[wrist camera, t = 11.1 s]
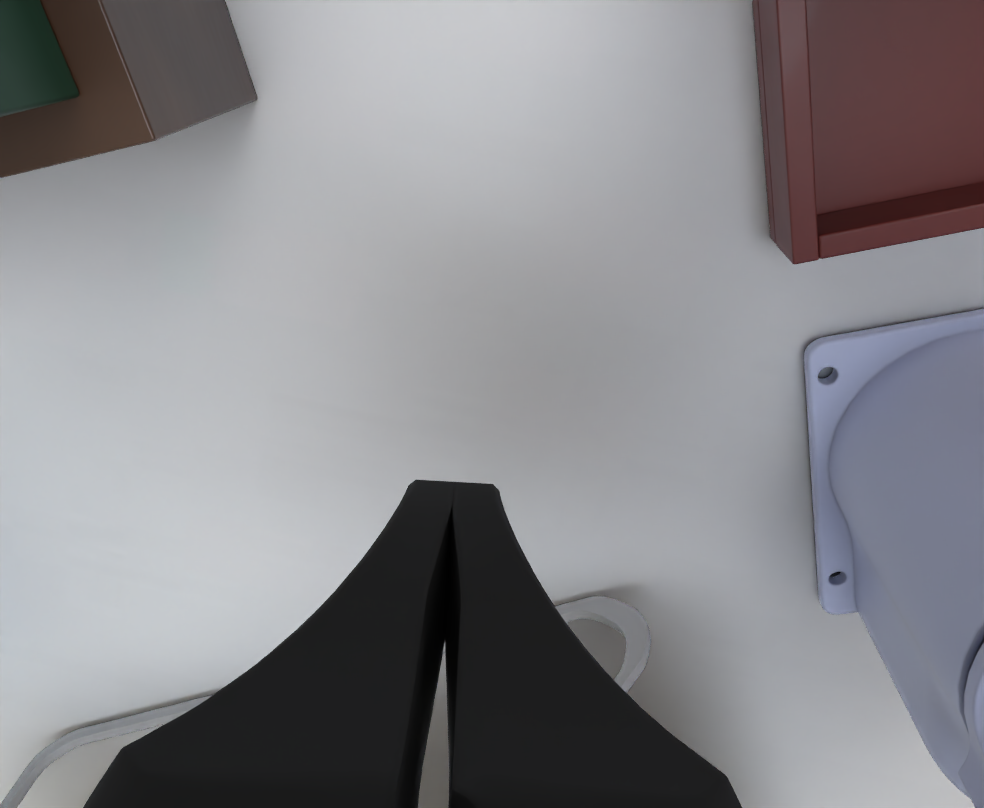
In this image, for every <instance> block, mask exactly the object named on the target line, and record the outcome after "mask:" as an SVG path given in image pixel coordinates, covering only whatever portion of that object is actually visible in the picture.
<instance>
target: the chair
mask: <svg viewBox="0 0 984 808" xmlns="http://www.w3.org/2000/svg"><path fill="white" fill-rule="evenodd" d="M555 608H556V609H557V610H558V612H559V613H560V615H561V616H562V618H563V619H564V621H565V622H569V621H573V620H577V619H592V620H595V621H598V622H601V623H604V624H606V625H608V626H610V627H612V628H614V629H616V630H617V631H619V632H620V633H621V634H622V635H623V636H624V637H625V639H626V652H625V657H624V661H623V664H622V667H621V670H620V672H619V673H618V675H617V676H616V677H615V679H614V681H615V682H616V683H617V684H618V685H619V686H620V687H621V688H622V689H623V690H624V691H625V692H626V693H627V692H628V690H629V689H630V688H631V686H632V685H633V684H634V682H635V681H636V680H637V678H638V677H639V676H640V674H641V673H642V671H643V670H644V669H645V666H646V664H647V660H648V657H649V652H650V645H651V637H650V630H649V626H648V624H647V621H646V619H645V618H644V617H643V616H642V615H641V614H640V612H639V611H638V610H637V609H635V608H633V607H632V606H630V605H628V604H626V603H624V602H622V601H620V600H616V599H613V598H609V597H606V596H592V597H588V598H584V599H581V600H577V601H573V602H569V603H565V604H562V605H558V606H555ZM445 653H446V652H445V643H444V649H443V654H445ZM211 696H212V695H210V696H206V697H202V698H198V699H194V700H191V701H187V702H183V703H179V704H175V705H171V706H167V707H163V708H159V709H156V710H152V711H148V712H144V713H140V714H136V715H132V716H128V717H124V718H120V719H117V720H113V721H109V722H105V723H101V724H97V725H93V726H89V727H85V728H81V729H78V730H75V731H72V732H70V733H68V734H66V735H64V736H62V737H61V738H59V739H58V740H56V741H55V742H53V743H52V744H50V745H49V746H47V747H46V748H44V749H43V750H42V751H41V752H40V753H38V754H37V755H36V756H35V757H34V759H33V760H32V761H31V762H30V763H29V765H28V766H27V767H26V768H25V770H24V771H23V773H22V774H21V776H20V777H19V779H18V780H17V782H16V783H15V784H14V786H13V787H12V789H11V790H10V792H9V793H8V794H7V796H6V797H5V799H4V800H3V801H2V803H1V804H0V808H17V807H18V806H19V804H20V803H21V801H22V800H23V798H24V797H25V795H26V794H27V792H28V791H29V789H30V788H31V786H32V785H33V783H34V782H35V780H36V779H37V778H38V777H39V775H40V774H41V773H42V772H43V770H44V769H45V768H47V767H48V766H49V765H50V764H51V763H53V762H54V761H55V760H57V759H58V758H60V757H61V756H63V755H64V754H66V753H67V752H69V751H71V750H72V749H74V748H76V747H78V746H81V745H84V744H87V743H91V742H95V741H100V740H104V739H108V738H112V737H116V736H120V735H124V734H128V733H132V732H136V731H140V730H144V729H148V728H152V727H156V726H159V725H163V724H167V723H168V722H170V721H172V720H174V719H175V718H177V717H179V716H181V715H183V714H184V713H186V712H188V711H189V710H191V709H193V708H194V707H196V706H197V705H199V704H201V703H202V702H204V701H205V700H207V699H208V698H210V697H211Z"/></svg>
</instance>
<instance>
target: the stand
mask: <svg viewBox="0 0 984 808" xmlns="http://www.w3.org/2000/svg"><path fill="white" fill-rule="evenodd" d="M40 2H41V4H42V7H43V9H44V12H45V14H46V16H47V19H48V21H49V23H50V26H51V28H52V30H53V33H54V35H55V37H56V40H57V42H58V45H59V47H60V49H61V52H62V54H63V56H64V59H65V61H66V63H67V66H68V68H69V70H70V73H71V75H72V77H73V80H74V82H75V85H76V87H77V89H78V92H79V96H78V97H77V98H73V99H69V100H65V101H62V102H58V103H54V104H50V105H46V106H42V107H38V108H34V109H30V110H26V111H22V112H18V113H14V114H10V115H7V116H3V117H0V178H3V177H7V176H11V175H15V174H20V173H24V172H28V171H32V170H36V169H40V168H44V167H49V166H53V165H57V164H61V163H65V162H69V161H73V160H78V159H82V158H86V157H90V156H94V155H98V154H102V153H106V152H111V151H115V150H119V149H123V148H127V147H131V146H135V145H140V144H144V143H148V142H152V141H155V140H158V139H160V138H163V137H165V136H168V135H170V134H173V133H175V132H178V131H181V130H183V129H186V128H188V127H191V126H193V125H196V124H198V123H201V122H203V121H206V120H208V119H211V118H213V117H216V116H218V115H221V114H223V113H226V112H228V111H231V110H233V109H236V108H238V107H241V106H243V105H246V104H248V103H251V102H253V101H256V100H257V96H256V93H255V90H254V87H253V84H252V81H251V78H250V75H249V72H248V69H247V66H246V63H245V60H244V57H243V54H242V51H241V48H240V45H239V42H238V39H237V36H236V33H235V30H234V27H233V24H232V21H231V18H230V15H229V12H228V9H227V6H226V3H225V0H40Z"/></svg>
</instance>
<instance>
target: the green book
mask: <svg viewBox="0 0 984 808" xmlns="http://www.w3.org/2000/svg"><path fill="white" fill-rule="evenodd" d="M78 96H79V92H78V89H77V87H76V85H75V82H74V80H73V77H72V75H71V73H70V70H69V68H68V66H67V63H66V61H65V59H64V56H63V54H62V52H61V49H60V47H59V45H58V42H57V40H56V37H55V35H54V33H53V30H52V28H51V26H50V23H49V21H48V19H47V16H46V14H45V12H44V9H43V7H42V4H41V2H40V0H0V117H3V116H7V115H10V114H14V113H18V112H22V111H26V110H30V109H34V108H38V107H42V106H46V105H50V104H54V103H58V102H62V101H65V100H69V99H73V98H77V97H78Z"/></svg>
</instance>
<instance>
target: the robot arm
mask: <svg viewBox="0 0 984 808" xmlns="http://www.w3.org/2000/svg"><path fill="white" fill-rule="evenodd" d="M804 366H805V383H806V399H807V415H808V432H809V448H810V464H811V481H812V497H813V513H814V530H815V546H816V562H817V578H818V595H819V600H820V603H821V605H822V608H823V609H824V610H825V611H826V612H827V613H830V614H846V613H854V612H859V614H860V616H861V618H862V620H863V622H864V624H865V626H866V628H867V630H868V632H869V634H870V636H871V638H872V640H873V642H874V644H875V646H876V648H877V650H878V652H879V654H880V656H881V658H882V660H883V662H884V664H885V666H886V668H887V670H888V672H889V674H890V676H891V678H892V680H893V682H894V684H895V686H896V688H897V690H898V692H899V694H900V696H901V698H902V700H903V702H904V704H905V706H906V708H907V710H908V712H909V714H910V716H911V718H912V720H913V722H914V724H915V726H916V728H917V730H918V732H919V734H920V736H921V738H922V740H923V742H924V744H925V746H926V748H927V749H928V751H929V753H930V755H931V756H932V758H933V759H934V761H935V762H936V764H937V766H938V767H939V768H940V770H941V771H942V772H943V773H944V775H945V776H946V777H947V778H948V779H949V780H950V781H951V782H952V783H953V784H954V785H955V786H956V787H957V788H958V789H959V790H960V791H962V792H963V793H964V794H965V795H966V796H968V797H969V798H970V799H971V800H972V802H973V804H974V806H975V808H984V309H979V310H974V311H968V312H962V313H957V314H951V315H946V316H940V317H934V318H929V319H923V320H917V321H912V322H906V323H901V324H895V325H889V326H884V327H878V328H873V329H867V330H861V331H856V332H850V333H845V334H839V335H833V336H828V337H822V338H819V339H817V340H814V341H813V342H812V343H811V344H809V345H808V347H807V349H806V350H805V354H804ZM827 367H833V372H832V374H831V375H830V376H829V377H827V378H824V379H821V378H818V374H819V372H820V371H821V370H822V369H824V368H827ZM834 572H841V573H840V574H839V575H838V576H835V577H829V576H830V575H831V574H832V573H834ZM444 643H445V652H446V682H447V711H448V740H449V808H742V807H741V804H740V802H739V800H738V798H737V796H736V794H735V792H734V790H733V788H732V786H731V784H730V782H729V780H728V778H727V777H726V775H725V774H723V773H722V772H721V771H719V770H718V769H717V768H715V767H714V766H713V765H711V764H710V763H709V762H707V761H706V760H705V759H703V758H702V757H701V756H699V755H698V754H697V753H695V752H694V751H693V750H692V749H690V748H689V747H688V746H686V745H685V744H684V743H682V742H681V741H680V740H678V739H677V738H676V737H674V736H673V735H672V734H671V733H669V732H668V731H667V730H666V729H665V728H663V727H662V726H661V725H660V724H659V723H658V722H657V721H655V720H654V719H653V718H652V717H651V716H650V715H649V714H648V713H646V712H645V711H644V710H643V709H642V708H641V707H640V706H639V705H638V704H637V703H636V702H635V701H634V700H633V699H632V698H631V697H630V696H629V695H628V694H627V693H626V692H625V691H624V690H623V689H622V688H621V687H620V686H619V685H618V684H617V683H616V682H615V681H614V680H613V679H612V678H611V677H610V676H609V675H608V674H607V673H606V672H605V670H604V669H603V668H602V667H601V666H600V665H599V663H598V662H597V661H596V660H595V659H594V658H593V656H592V655H591V654H590V653H589V652H588V650H587V649H586V648H585V647H584V646H583V644H582V643H581V642H580V640H579V639H578V638H577V637H576V635H575V634H574V633H573V631H572V630H571V629H570V627H569V626H568V625H567V623H566V622H565V621H564V619H563V618H562V616H561V615H560V613H559V612H558V610H557V609H556V608H555V606H554V605H553V603H552V601H551V600H550V598H549V597H548V595H547V593H546V592H545V590H544V589H543V587H542V586H541V584H540V582H539V580H538V579H537V577H536V575H535V574H534V572H533V570H532V568H531V566H530V564H529V562H528V561H527V559H526V557H525V555H524V553H523V551H522V549H521V547H520V545H519V543H518V541H517V539H516V537H515V535H514V532H513V530H512V528H511V525H510V523H509V521H508V518H507V516H506V513H505V510H504V507H503V504H502V501H501V497H500V492H499V490H498V489H497V488H496V487H495V486H494V485H493V484H482V483H464V482H446V481H429V480H415V481H414V482H412V483H411V484H410V485H409V486H408V488H407V490H406V493H405V495H404V496H403V498H402V500H401V502H400V504H399V506H398V507H397V509H396V511H395V512H394V514H393V516H392V517H391V519H390V520H389V522H388V523H387V525H386V527H385V528H384V529H383V531H382V532H381V534H380V535H379V536H378V538H377V539H376V541H375V542H374V543H373V545H372V546H371V548H370V549H369V550H368V552H367V553H366V554H365V556H364V557H363V558H362V560H361V561H360V562H359V563H358V564H357V566H356V567H355V568H354V569H353V570H352V572H351V573H350V574H349V575H348V576H347V578H346V579H345V580H344V581H343V582H342V584H341V585H340V586H339V587H338V588H337V589H336V591H335V592H334V593H333V594H332V595H331V596H330V597H329V598H328V599H327V600H326V601H325V602H324V603H323V604H322V606H321V607H320V608H319V609H318V610H317V611H316V612H315V613H314V614H313V615H312V616H310V617H309V618H308V619H307V620H306V621H305V622H304V623H303V624H302V625H301V626H300V627H299V628H298V629H297V630H296V631H295V632H294V633H292V634H291V635H290V636H289V637H288V638H287V639H285V640H284V641H283V642H282V643H281V644H280V645H279V646H277V647H276V648H275V649H274V650H273V651H272V652H270V653H269V654H268V655H267V656H266V657H264V658H263V659H262V660H261V661H259V662H258V663H257V664H256V665H254V666H253V667H252V668H250V669H249V670H248V671H247V672H245V673H244V674H242V675H241V676H239V677H238V678H237V679H235V680H234V681H232V682H231V683H230V684H228V685H227V686H225V687H224V688H222V689H221V690H220V691H218V692H217V693H215V694H214V695H212V696H211V697H210V698H208V699H207V700H205V701H204V702H202V703H201V704H199V705H197V706H196V707H194V708H193V709H191V710H189V711H188V712H186V713H184V714H183V715H181V716H179V717H177V718H175V719H174V720H172V721H170V722H168V723H167V724H165V725H163V726H161V727H159V728H158V729H156V730H154V731H152V732H151V733H149V734H147V735H145V736H144V737H142V738H140V739H138V740H136V741H134V742H132V743H130V744H129V745H127V746H125V747H123V748H122V749H121V750H120V752H119V753H118V755H117V756H116V758H115V759H114V761H113V762H112V764H111V765H110V767H109V768H108V770H107V771H106V773H105V774H104V776H103V777H102V779H101V780H100V782H99V783H98V785H97V787H96V788H95V790H94V791H93V793H92V794H91V796H90V797H89V799H88V800H87V802H86V804H85V805H84V807H83V808H418V797H419V789H420V781H421V774H422V767H423V761H424V755H425V749H426V744H427V738H428V733H429V727H430V722H431V716H432V710H433V705H434V699H435V694H436V688H437V683H438V677H439V671H440V666H441V660H442V654H443V649H444Z"/></svg>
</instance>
